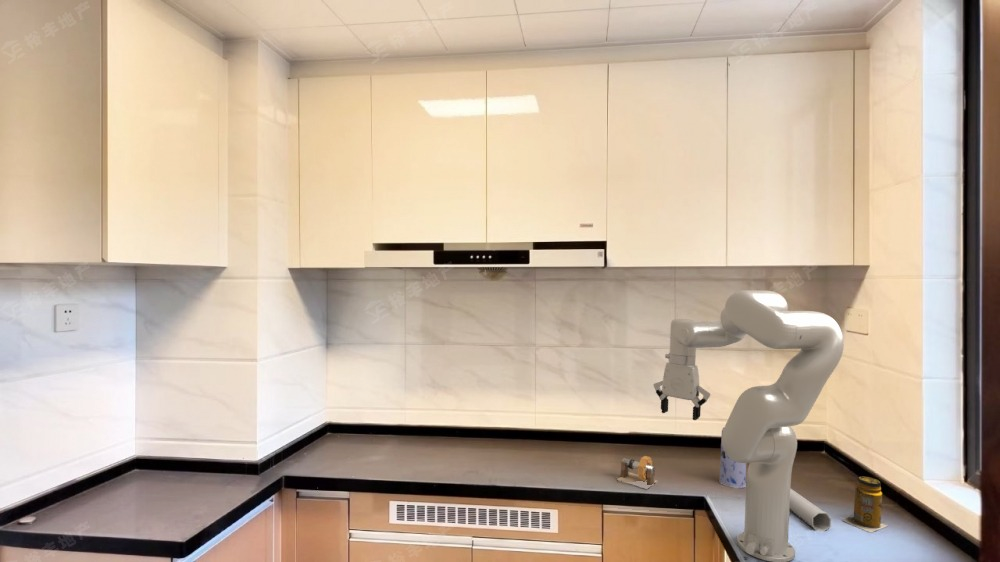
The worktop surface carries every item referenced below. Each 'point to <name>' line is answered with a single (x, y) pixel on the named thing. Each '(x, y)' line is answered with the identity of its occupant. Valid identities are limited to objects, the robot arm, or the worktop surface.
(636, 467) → the pipe
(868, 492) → the condiment
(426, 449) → the worktop surface
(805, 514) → the tube
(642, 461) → the o ring
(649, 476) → the base board
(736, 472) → the aerosol can
